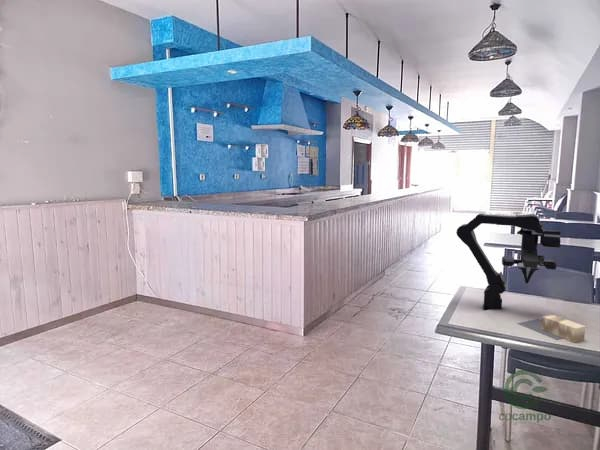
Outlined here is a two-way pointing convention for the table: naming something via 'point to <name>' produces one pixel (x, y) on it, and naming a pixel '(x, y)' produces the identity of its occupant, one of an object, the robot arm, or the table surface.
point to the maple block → (563, 328)
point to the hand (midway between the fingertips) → (526, 283)
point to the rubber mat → (538, 328)
